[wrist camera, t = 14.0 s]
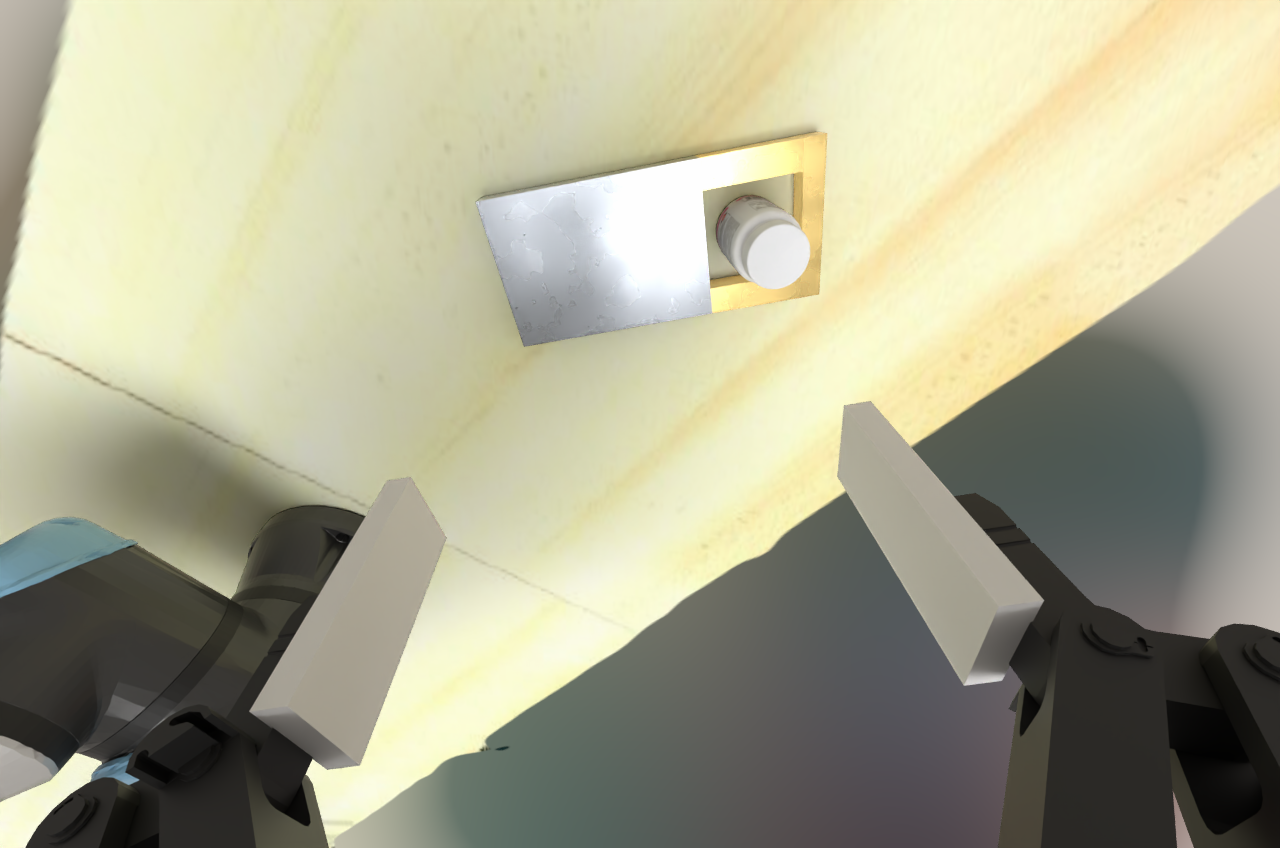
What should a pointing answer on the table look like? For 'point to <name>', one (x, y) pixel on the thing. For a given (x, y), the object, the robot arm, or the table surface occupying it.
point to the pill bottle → (763, 242)
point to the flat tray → (640, 241)
